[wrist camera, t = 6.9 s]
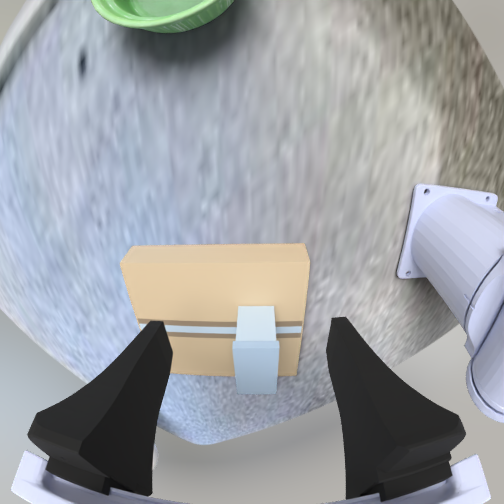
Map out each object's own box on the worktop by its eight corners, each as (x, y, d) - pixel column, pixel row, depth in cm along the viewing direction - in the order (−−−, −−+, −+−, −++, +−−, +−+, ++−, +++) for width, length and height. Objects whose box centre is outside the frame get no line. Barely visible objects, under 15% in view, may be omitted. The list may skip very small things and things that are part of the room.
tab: (276, 304, 20) (279, 347, 17) (274, 353, 23) (276, 394, 19) (236, 304, 20) (232, 348, 17) (239, 353, 23) (237, 394, 19)
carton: (304, 243, 21) (310, 262, 19) (293, 354, 27) (296, 375, 24) (132, 245, 21) (119, 263, 19) (162, 352, 27) (156, 371, 25)
